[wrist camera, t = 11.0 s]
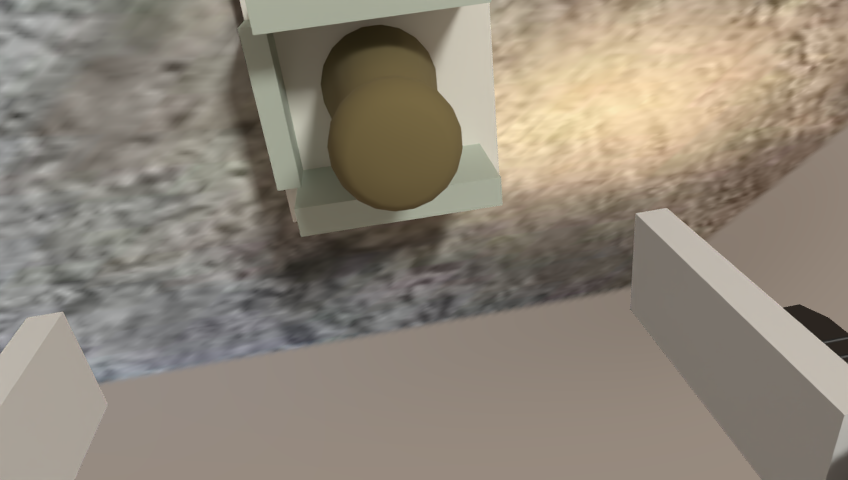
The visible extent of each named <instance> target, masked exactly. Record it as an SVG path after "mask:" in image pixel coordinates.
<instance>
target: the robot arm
mask: <svg viewBox="0 0 848 480" xmlns="http://www.w3.org/2000/svg"><path fill="white" fill-rule="evenodd" d="M630 310H631V311H632V312H633V314H634V315H635V316H636V317H637V319H638V320H639V321H640V322H641V324H642V325H643V327H644V328H645V329H646V330H647V332H648V333H649V334H650V336H651V337H652V338H653V340H654V341H655V342H656V343H657V345H658V346H659V347H660V349H661V350H662V351H663V353H664V354H665V355H666V356H667V357H668V359H669V360H670V362H671V363H672V364H673V365H674V367H675V368H676V369H677V371H678V372H679V373H680V374H681V376H682V377H683V378H684V380H685V381H686V382H687V384H688V385H689V386H690V388H691V389H692V390H693V391H694V393H695V394H696V395H697V397H698V398H699V399H700V400H701V402H702V403H703V404H704V406H705V407H706V408H707V410H708V411H709V412H710V413H711V415H712V416H713V417H714V419H715V420H716V421H717V423H718V424H719V425H720V426H721V428H722V429H723V430H724V432H725V433H726V434H727V435H728V437H729V438H730V439H731V441H732V442H733V443H734V444H735V446H736V447H737V448H738V450H739V451H740V452H741V454H742V455H743V456H744V457H745V459H746V460H747V461H748V462H749V464H750V465H751V467H752V468H753V469H754V470H755V472H756V473H757V474H758V476H759V477H760V478H761V479H762V480H848V333H847V332H846V331H844V330H843V329H842V328H841V327H839V326H838V325H837V324H836V323H834V322H833V321H832V320H831V319H829V318H828V317H826V316H824V315H821V314H819V313H817V312H815V311H813V310H811V309H808V308H806V307H804V306H802V305H794V306H789V307H784V308H782V307H781V306H780V305H779V304H778V303H776V302H775V301H774V300H773V299H771V297H769V296H768V295H767V294H766V293H765V292H764V291H763V290H761V289H760V288H759V287H758V286H757V285H756V284H754V283H753V282H752V281H751V280H750V279H749V278H747V277H746V276H745V275H744V274H743V273H741V272H740V271H739V270H738V269H737V268H736V267H735V266H733V265H732V264H731V263H730V262H729V261H728V260H727V259H725V258H724V257H723V256H722V255H721V254H719V253H718V252H717V251H716V250H715V249H714V248H713V247H711V246H710V245H709V244H708V243H707V242H706V241H704V240H703V239H702V238H701V237H700V236H699V235H697V234H696V233H695V232H694V231H693V230H692V229H691V228H689V227H688V226H687V225H686V224H685V223H684V222H682V221H681V220H680V219H679V218H678V217H677V216H675V215H674V214H673V213H672V212H671V211H670V210H668V209H667V208H665V209H659V210H653V211H647V212H641V213H636V216H635V233H634V251H633V269H632V287H631V306H630ZM107 406H108V403H107V401H106V399H105V397H104V395H103V393H102V391H101V389H100V387H99V385H98V383H97V381H96V379H95V377H94V375H93V373H92V371H91V368H90V366H89V364H88V362H87V360H86V358H85V356H84V354H83V352H82V350H81V348H80V346H79V344H78V342H77V340H76V338H75V336H74V333H73V331H72V329H71V327H70V325H69V323H68V321H67V319H66V317H65V315H64V313H63V312H58V313H52V314H46V315H41V316H35V317H29V318H27V319H26V320H25V321H24V323H23V324H22V325H21V327H20V328H19V329H18V331H17V332H16V333H15V335H14V336H13V338H12V339H11V340H10V342H9V343H8V344H7V346H6V347H5V348H4V350H3V351H2V352H1V354H0V480H75V478H76V476H77V474H78V471H79V469H80V467H81V465H82V462H83V460H84V458H85V456H86V453H87V451H88V449H89V447H90V444H91V442H92V439H93V437H94V435H95V433H96V431H97V429H98V426H99V424H100V422H101V420H102V417H103V415H104V413H105V411H106V408H107Z"/></svg>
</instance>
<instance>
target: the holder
mask: <svg viewBox="0 0 848 480" xmlns="http://www.w3.org/2000/svg"><path fill="white" fill-rule="evenodd" d="M490 2H491V0H240V4H241V8H242V12H243V17H244V21H243V23H242V24H241V25H240V26H239V27H238V32H239V36H240V41H241V45H242V49H243V53H244V57H245V61H246V65H247V69H248V73H249V77H250V81H251V85H252V89H253V93H254V97H255V101H256V105H257V109H258V113H259V117H260V121H261V125H262V129H263V134H264V138H265V142H266V146H267V150H268V154H269V158H270V162H271V166H272V170H273V174H274V178H275V182H276V186H277V190H278V191H281V190H285V191H286V195H287V199H288V203H289V208H290V212H291V216H292V220H293V222H297V223H298V227H299V231H300V235H301V237H304V236H311V235H317V234H323V233H330V232H336V231H342V230H349V229H355V228H361V227H368V226H374V225H380V224H387V223H393V222H399V221H405V220H412V219H418V218H424V217H431V216H437V215H443V214H450V213H456V212H462V211H469V210H475V209H481V208H488V207H494V206H500V205H502V187H501V177H500V175H499V163H498V145H497V128H496V110H495V93H494V76H493V58H492V41H491V23H490V6H489V3H490ZM373 25H386V26H391V27H396V28H400V29H402V30H403V31H405V32H407V33H409V34H410V35H412V36H414V37H415V38H417V40H418V41H419V42H420V43H421V44H422V45H423V46H424V48H425V49H426V50H427V51H428V52H429V55H430V57H431V59H432V62H433V64H434V66H435V69H436V79H437V90H438V92H439V93H440V94H441V95H442V96H443V97H444V98H445V99H446V101H447V102H448V103H449V104H450V105H451V107H452V108H453V110H454V112H455V115H456V117H457V119H458V121H459V124H460V126H461V132H462V145H463V149H462V154H461V158H460V162H459V166H458V170H457V172H456V174H455V176H454V177H453V179H452V180H451V182H450V184H449V185H448V187H447V188H446V189H445V190H444V191H443V192H442V193H440V194H439V195H438V196H437V197H436V198H435V199H434V200H432V201H430V202H428V203H426V204H424V205H422V206H419V207H417V208H415V209H409V210H403V211H396V212H395V211H387V210H380V209H375V208H373V207H371V206H368V205H366V204H364V203H362V202H360V201H358V200H357V199H356V198H355V197H353V196H352V195H351V194H350V193H349V192H348V191H347V190H346V189H345V188H344V187H343V186H342V185H341V183H340V181H339V180H338V178H337V176H336V174H335V173H334V171H333V169H332V167H331V163H330V158H329V153H328V148H327V145H328V136H329V129H330V123H331V120H332V119H331V116H330V114H329V112H328V110H327V108H326V106H325V104H324V100H323V95H322V89H321V78H322V70H323V65H324V63H325V61H326V59H327V57H328V55H329V53H330V51H331V49H332V48H333V47H334V46H335V45H336V44H337V43H338V42H339V41H340V40H341V39H342V38H343V37H344V36H345V35H347V34H349V33H351V32H353V31H355V30H357V29H359V28H361V27H366V26H373Z"/></svg>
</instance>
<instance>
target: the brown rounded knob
mask: <svg viewBox="0 0 848 480" xmlns="http://www.w3.org/2000/svg"><path fill="white" fill-rule="evenodd" d="M321 89H322V95H323V100H324V104H325V106H326V108H327V110H328V112H329V114H330V116H331V119H332V120H331V123H330V129H329V136H328V145H327V148H328V153H329V158H330V163H331V167H332V169H333V171H334V173H335V174H336V176H337V178H338V180H339V181H340V183H341V185H342V186H343V187H344V188H345V189H346V190H347V191H348V192H349V193H350V194H351V195H352V196H353V197H355V198H356V199H357V200H358V201H360V202H362V203H364V204H366V205H368V206H371V207H373V208H375V209H380V210H387V211H395V212H396V211H403V210H409V209H415V208H417V207H419V206H422V205H424V204H426V203H428V202H430V201H432V200H434V199H435V198H436V197H437V196H438V195H439V194H440V193H442V192H443V191H444V190H445V189H446V188H447V187H448V185H449V184H450V182H451V180H452V179H453V177H454V176H455V174H456V172H457V170H458V166H459V162H460V158H461V154H462V149H463V145H462V132H461V126H460V124H459V121H458V119H457V117H456V115H455V112H454V110H453V108H452V107H451V105H450V104H449V103H448V102H447V101H446V99H445V98H444V97H443V96H442V95H441V94H440V93H439V92H438V90H437V79H436V69H435V66H434V64H433V62H432V59H431V57H430V55H429V52H428V51H427V50H426V49H425V48H424V46H423V45H422V44H421V43H420V42H419V41H418V40H417V38H415V37H414V36H412V35H410V34H409V33H407V32H405V31H403V30H402V29H400V28H396V27H391V26H386V25H373V26H366V27H361V28H359V29H357V30H355V31H353V32H351V33H349V34H347V35H345V36H344V37H343V38H342V39H341V40H340V41H339V42H338V43H337V44H336V45H335V46H334V47H333V48H332V49H331V51H330V53H329V55H328V57H327V59H326V61H325V63H324V65H323V70H322V78H321Z"/></svg>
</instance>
